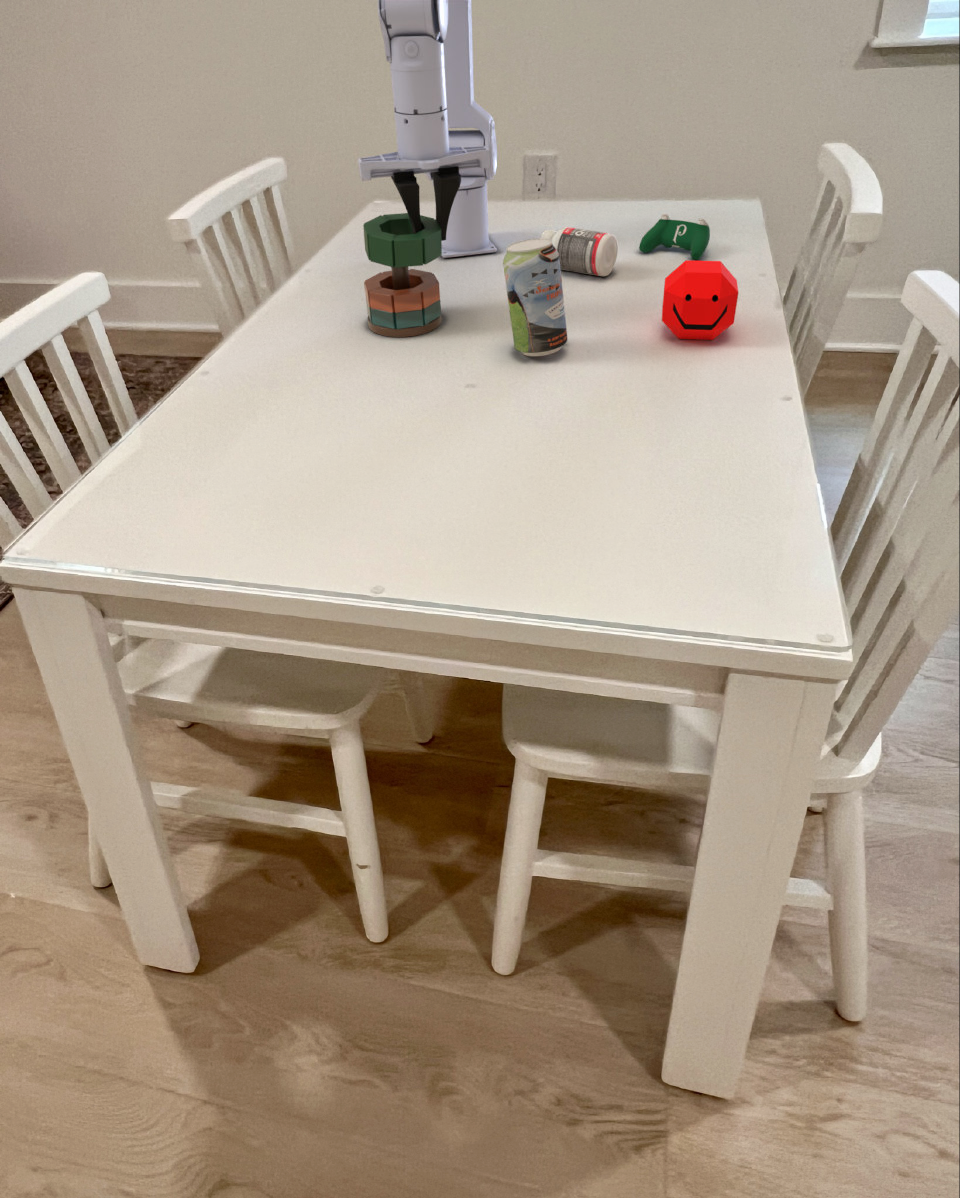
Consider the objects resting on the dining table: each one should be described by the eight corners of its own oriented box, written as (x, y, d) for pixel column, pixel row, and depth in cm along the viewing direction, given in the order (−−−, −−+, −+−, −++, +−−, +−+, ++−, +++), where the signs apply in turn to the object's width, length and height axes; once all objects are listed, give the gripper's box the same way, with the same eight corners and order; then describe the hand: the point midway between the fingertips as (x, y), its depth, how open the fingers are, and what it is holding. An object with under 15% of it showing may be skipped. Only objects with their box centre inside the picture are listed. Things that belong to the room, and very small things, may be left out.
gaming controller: (703, 270, 124) (718, 231, 124) (698, 256, 121) (714, 215, 121) (642, 261, 128) (657, 222, 128) (636, 247, 125) (651, 207, 125)
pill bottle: (608, 229, 114) (541, 219, 118) (597, 272, 115) (531, 261, 120) (622, 239, 119) (557, 229, 123) (611, 281, 120) (548, 269, 124)
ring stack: (364, 313, 112) (357, 257, 107) (434, 304, 113) (429, 248, 109) (373, 341, 105) (366, 282, 101) (448, 331, 106) (444, 273, 102)
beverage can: (551, 367, 98) (552, 256, 90) (494, 354, 101) (490, 246, 93) (577, 346, 102) (580, 238, 94) (521, 334, 105) (520, 229, 97)
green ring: (362, 241, 107) (360, 216, 105) (432, 236, 108) (431, 211, 106) (372, 269, 101) (370, 243, 99) (446, 263, 102) (445, 237, 100)
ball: (659, 345, 101) (666, 278, 96) (660, 318, 107) (667, 253, 102) (732, 348, 100) (742, 280, 95) (729, 320, 106) (738, 255, 101)
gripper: (358, 122, 91) (373, 257, 100) (494, 110, 94) (498, 242, 102) (350, 109, 97) (365, 238, 105) (479, 98, 99) (483, 225, 107)
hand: (429, 239), depth 104 cm, fingers closed on green ring, 2 cm apart
